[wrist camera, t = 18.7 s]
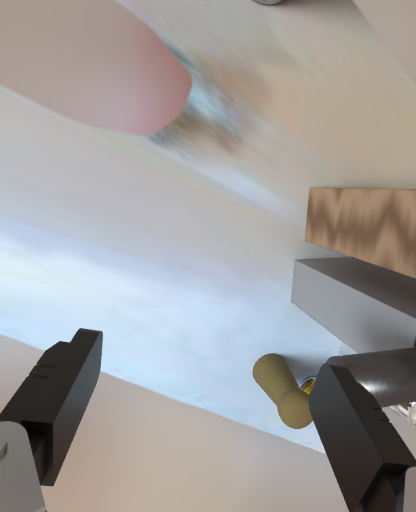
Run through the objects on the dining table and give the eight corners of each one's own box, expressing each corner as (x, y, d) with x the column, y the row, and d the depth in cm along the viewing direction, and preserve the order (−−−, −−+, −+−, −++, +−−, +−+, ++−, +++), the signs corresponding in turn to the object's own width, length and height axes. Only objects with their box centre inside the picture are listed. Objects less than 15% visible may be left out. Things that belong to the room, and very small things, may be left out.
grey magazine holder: (294, 259, 47) (434, 328, 24) (371, 256, 50) (559, 314, 27) (291, 301, 48) (419, 401, 26) (366, 296, 51) (539, 381, 29)
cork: (286, 350, 50) (324, 394, 40) (285, 381, 52) (322, 431, 41) (252, 356, 49) (282, 402, 39) (252, 388, 51) (281, 441, 40)
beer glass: (329, 360, 53) (399, 425, 39) (348, 326, 52) (426, 379, 38) (358, 370, 55) (435, 436, 41) (377, 338, 54) (462, 392, 40)
